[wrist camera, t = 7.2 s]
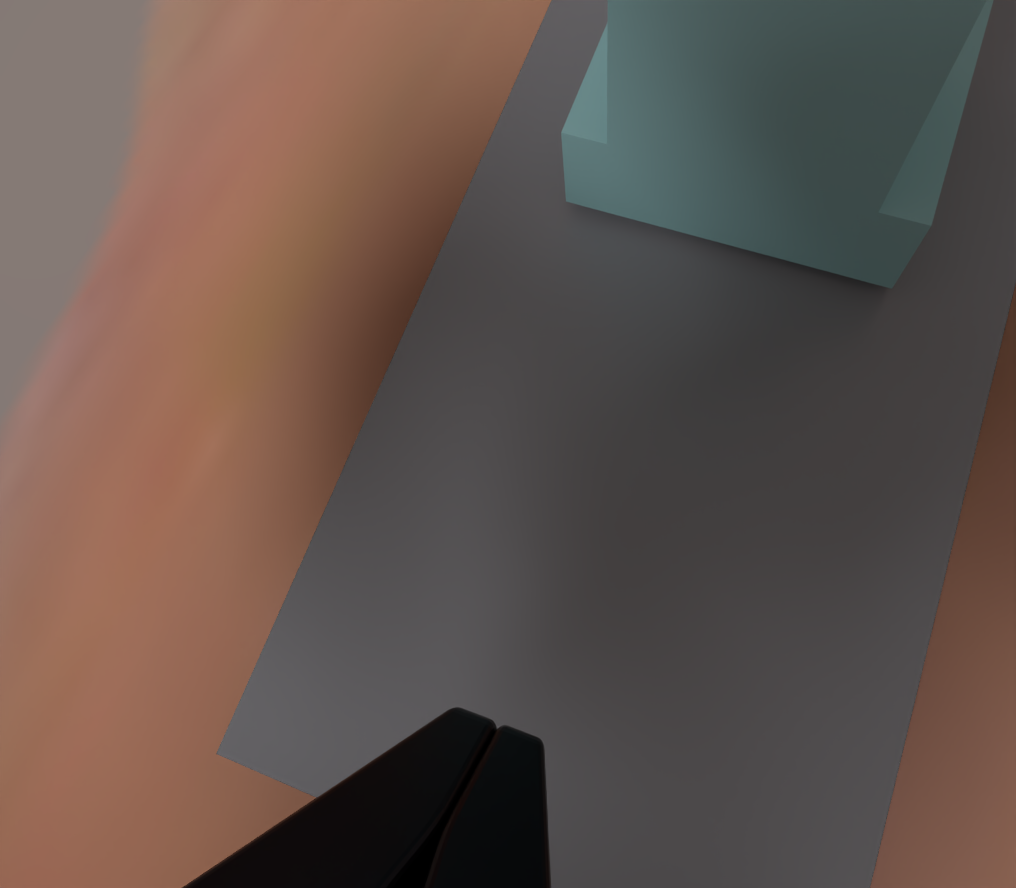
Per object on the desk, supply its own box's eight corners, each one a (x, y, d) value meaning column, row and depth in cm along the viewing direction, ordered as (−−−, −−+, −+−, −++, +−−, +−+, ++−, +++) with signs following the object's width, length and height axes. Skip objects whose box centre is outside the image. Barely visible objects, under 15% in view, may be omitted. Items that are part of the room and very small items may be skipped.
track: (813, 996, 14) (1322, 1602, 4) (250, 753, 16) (-327, 762, 6) (1086, -99, 20) (1558, -925, 10) (654, -174, 22) (694, -924, 12)
